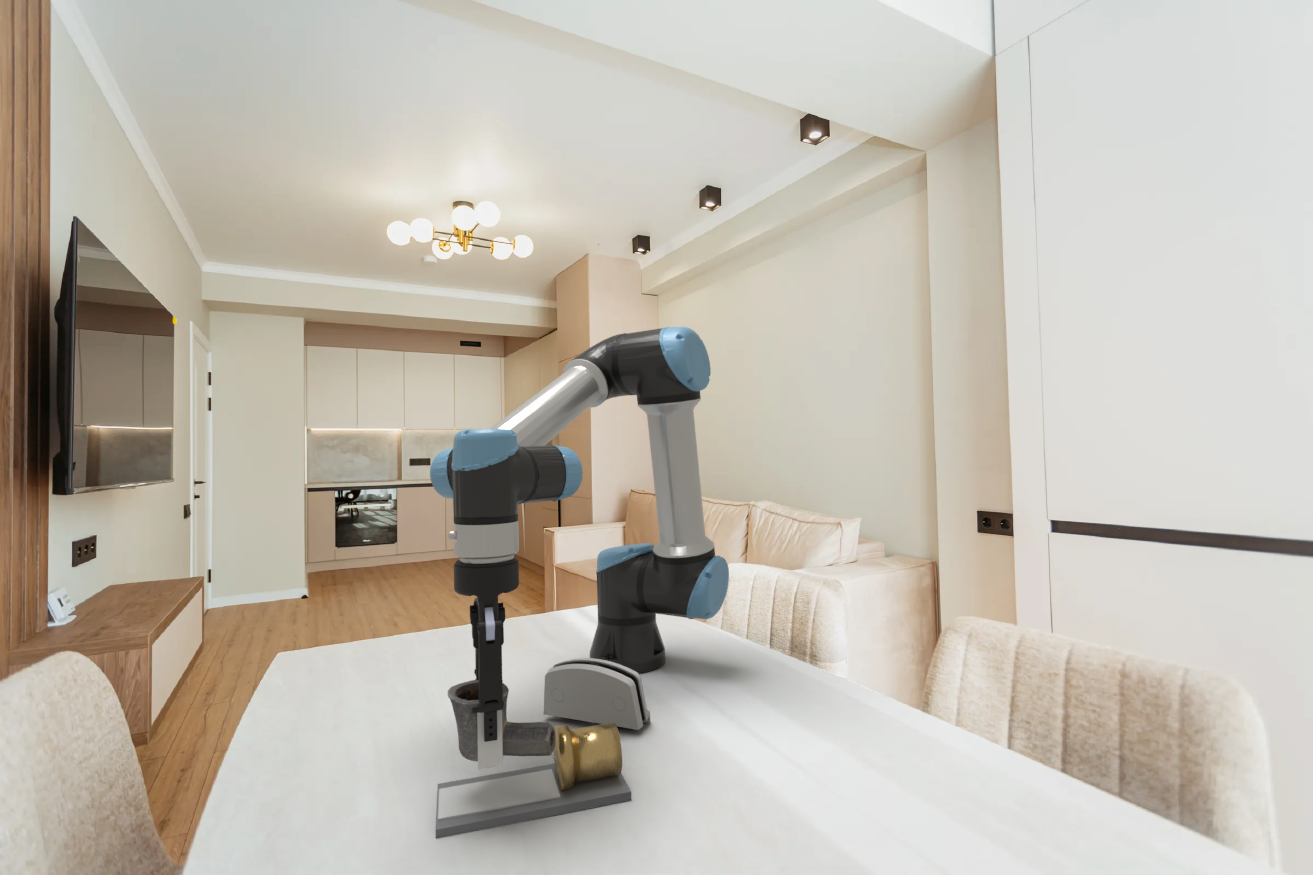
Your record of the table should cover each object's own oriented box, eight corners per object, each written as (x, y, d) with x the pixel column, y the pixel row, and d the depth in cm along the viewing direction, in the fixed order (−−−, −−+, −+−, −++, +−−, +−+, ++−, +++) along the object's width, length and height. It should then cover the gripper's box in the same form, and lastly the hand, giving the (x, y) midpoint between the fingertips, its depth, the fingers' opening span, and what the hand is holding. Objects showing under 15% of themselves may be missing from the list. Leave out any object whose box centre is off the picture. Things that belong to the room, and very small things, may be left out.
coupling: (610, 763, 83) (608, 708, 83) (624, 791, 76) (622, 731, 76) (553, 773, 80) (552, 716, 81) (563, 803, 74) (562, 741, 74)
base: (611, 760, 84) (611, 751, 84) (631, 799, 75) (631, 789, 75) (437, 791, 77) (437, 782, 77) (435, 838, 68) (435, 827, 68)
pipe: (546, 773, 71) (545, 706, 70) (438, 766, 73) (436, 700, 72) (560, 742, 77) (559, 680, 76) (460, 736, 79) (458, 675, 78)
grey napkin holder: (653, 723, 96) (648, 660, 95) (640, 739, 91) (636, 674, 91) (558, 708, 102) (553, 649, 101) (542, 723, 98) (537, 661, 97)
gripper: (453, 548, 83) (455, 725, 82) (453, 573, 65) (455, 800, 64) (511, 545, 85) (513, 717, 85) (527, 568, 67) (530, 786, 67)
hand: (488, 752), depth 74 cm, fingers closed on pipe, 6 cm apart
